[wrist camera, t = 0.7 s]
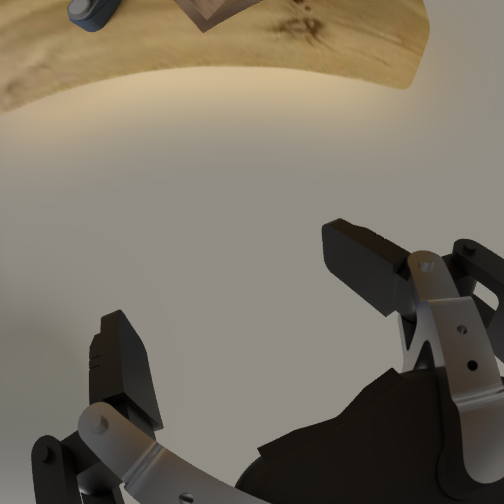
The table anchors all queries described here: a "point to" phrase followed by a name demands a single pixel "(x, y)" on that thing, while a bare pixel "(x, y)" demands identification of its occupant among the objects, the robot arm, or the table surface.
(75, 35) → the table surface
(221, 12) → the stand
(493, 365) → the robot arm
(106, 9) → the vaping device
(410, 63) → the table surface
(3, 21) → the table surface
